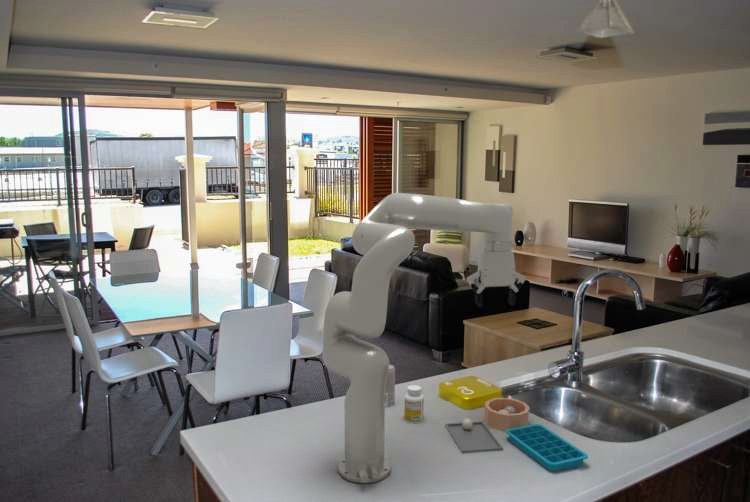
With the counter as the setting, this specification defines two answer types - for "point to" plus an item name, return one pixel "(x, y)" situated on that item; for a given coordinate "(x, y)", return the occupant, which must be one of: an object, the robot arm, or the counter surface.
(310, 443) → the counter surface
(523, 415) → the bowl
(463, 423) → the pebble
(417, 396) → the supplement bottle
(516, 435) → the ice cube tray
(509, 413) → the pebble
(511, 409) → the pebble
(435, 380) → the counter surface
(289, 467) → the counter surface
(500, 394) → the element tile
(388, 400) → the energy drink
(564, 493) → the counter surface
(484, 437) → the parts tray
